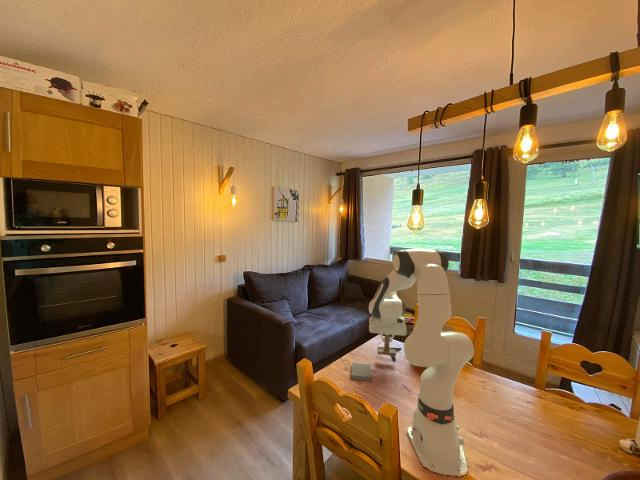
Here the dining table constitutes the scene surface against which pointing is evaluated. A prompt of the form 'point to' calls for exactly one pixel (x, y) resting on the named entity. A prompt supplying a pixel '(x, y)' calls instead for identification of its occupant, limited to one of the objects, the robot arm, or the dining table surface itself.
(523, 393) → the dining table surface
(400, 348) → the bracket
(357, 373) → the tile
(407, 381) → the dining table surface
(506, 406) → the dining table surface
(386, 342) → the inverted t stand
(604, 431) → the dining table surface
